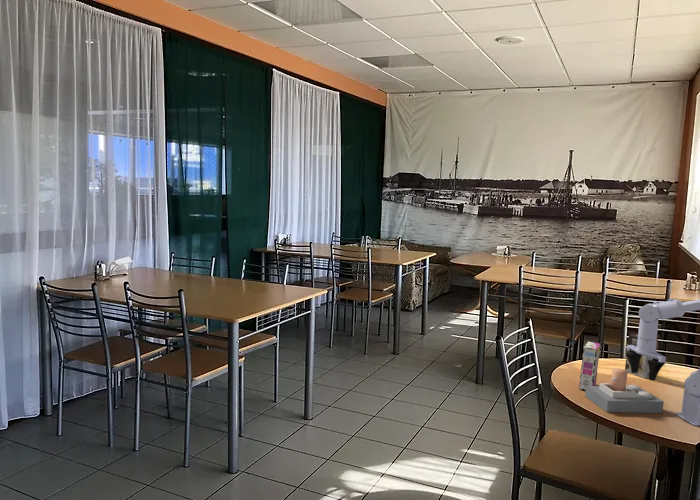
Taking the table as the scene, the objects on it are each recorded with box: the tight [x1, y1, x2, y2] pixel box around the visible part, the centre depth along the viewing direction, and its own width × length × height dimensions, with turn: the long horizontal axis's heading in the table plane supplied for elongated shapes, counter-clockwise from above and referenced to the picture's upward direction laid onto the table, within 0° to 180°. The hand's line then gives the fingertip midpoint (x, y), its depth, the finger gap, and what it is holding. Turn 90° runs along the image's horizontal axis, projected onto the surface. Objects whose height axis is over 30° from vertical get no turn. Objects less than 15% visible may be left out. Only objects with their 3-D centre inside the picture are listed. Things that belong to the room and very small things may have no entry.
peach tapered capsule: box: [610, 368, 629, 391], centre depth 190 cm, size 5×7×8 cm
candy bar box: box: [578, 341, 601, 392], centre depth 207 cm, size 11×5×16 cm, turn 149°
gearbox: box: [584, 382, 664, 414], centre depth 191 cm, size 14×20×6 cm
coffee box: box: [624, 333, 659, 379], centre depth 226 cm, size 9×6×16 cm
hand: (643, 376), depth 191 cm, fingers open, 7 cm apart
